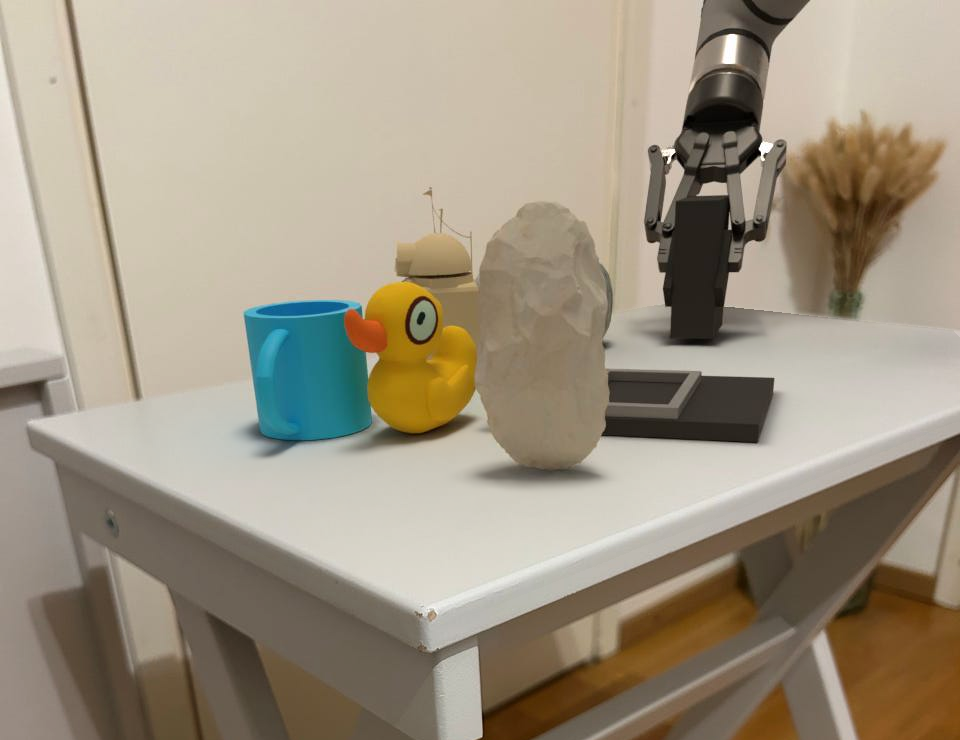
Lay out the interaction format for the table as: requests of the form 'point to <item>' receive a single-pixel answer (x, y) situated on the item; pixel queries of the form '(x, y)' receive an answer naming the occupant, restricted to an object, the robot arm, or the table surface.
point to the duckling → (413, 358)
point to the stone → (543, 338)
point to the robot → (443, 276)
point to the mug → (307, 370)
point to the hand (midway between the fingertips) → (693, 297)
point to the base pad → (686, 405)
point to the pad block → (697, 265)
